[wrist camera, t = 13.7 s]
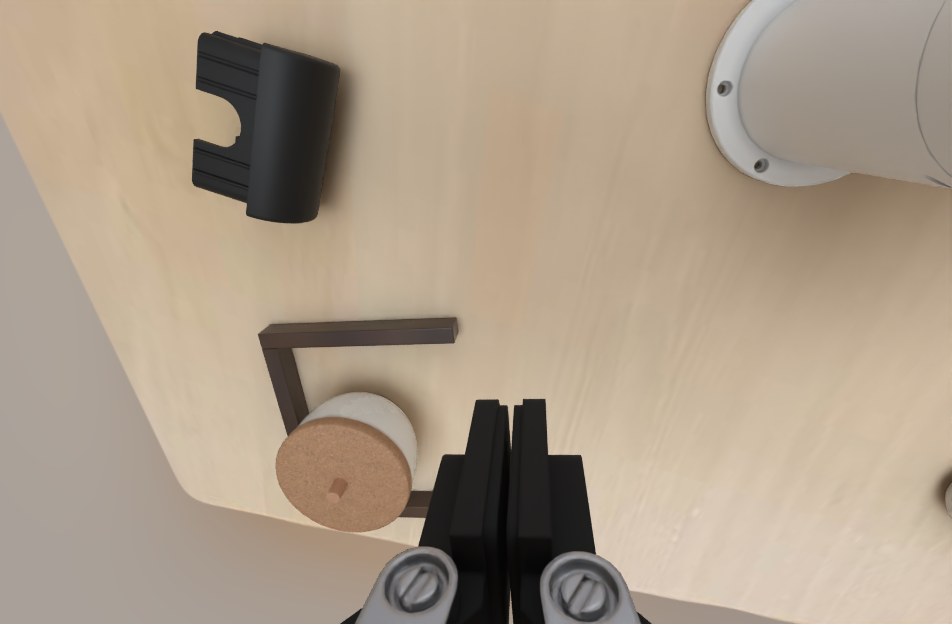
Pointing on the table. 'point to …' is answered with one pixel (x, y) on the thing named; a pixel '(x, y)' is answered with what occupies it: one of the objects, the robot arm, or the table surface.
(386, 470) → the trinket box
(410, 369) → the table surface
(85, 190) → the table surface
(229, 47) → the end cap
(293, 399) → the frame
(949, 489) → the plastic bottle
